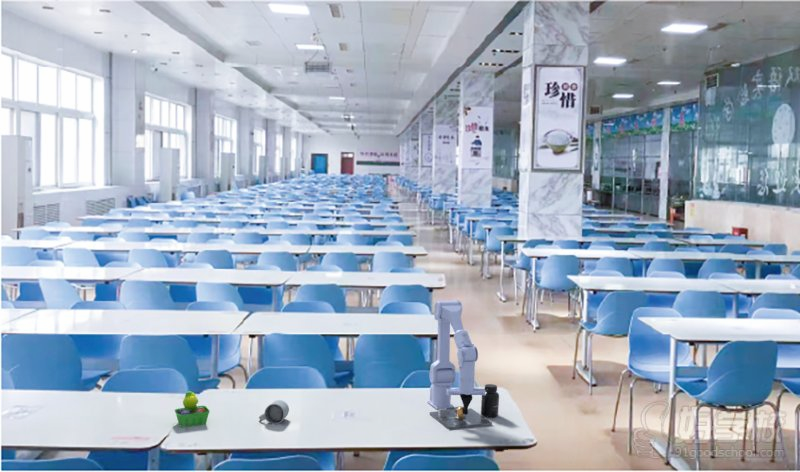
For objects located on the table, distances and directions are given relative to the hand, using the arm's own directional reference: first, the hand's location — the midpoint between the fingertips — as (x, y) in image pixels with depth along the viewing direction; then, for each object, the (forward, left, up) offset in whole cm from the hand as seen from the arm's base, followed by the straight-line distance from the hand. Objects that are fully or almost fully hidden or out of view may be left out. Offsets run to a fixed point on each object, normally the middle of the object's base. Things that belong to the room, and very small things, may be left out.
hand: (465, 413), depth 292 cm
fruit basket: (-30, -97, -5) cm, 101 cm away
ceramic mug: (-24, -67, -5) cm, 72 cm away
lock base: (-7, +1, -5) cm, 9 cm away
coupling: (-4, 0, -2) cm, 5 cm away
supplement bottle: (-9, +15, -5) cm, 18 cm away
